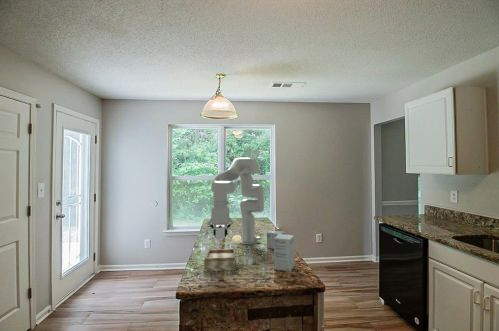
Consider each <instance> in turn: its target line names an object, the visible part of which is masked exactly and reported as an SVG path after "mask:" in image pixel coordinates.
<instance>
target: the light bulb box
mask: <svg viewBox="0 0 499 331" xmlns="http://www.w3.org/2000/svg"><path fill="white" fill-rule="evenodd" d="M278 234H283V235H285V231H281V230H280V231H279V230H268V231H267V232H266V248H267V249H273V250H274V238H275V237H276V236H277V235H278Z"/></svg>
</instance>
